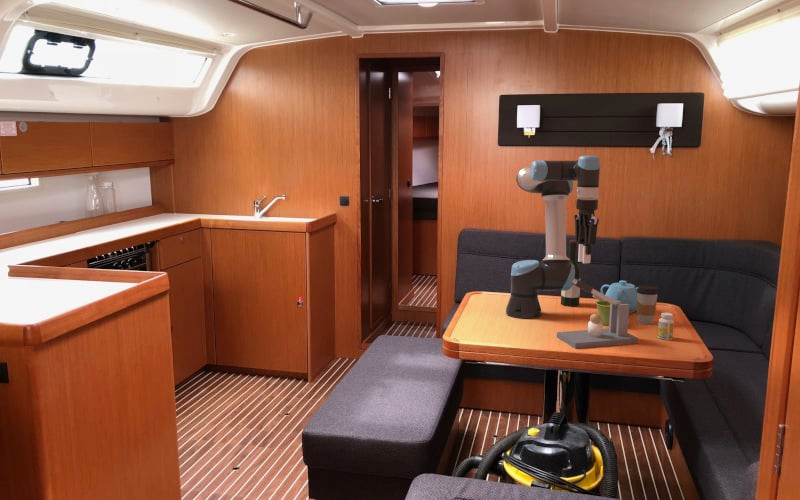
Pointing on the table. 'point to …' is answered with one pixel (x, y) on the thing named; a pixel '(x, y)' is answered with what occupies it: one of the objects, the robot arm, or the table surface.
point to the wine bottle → (573, 294)
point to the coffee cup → (646, 303)
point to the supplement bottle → (666, 326)
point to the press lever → (593, 292)
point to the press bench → (602, 330)
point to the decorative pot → (623, 294)
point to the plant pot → (604, 311)
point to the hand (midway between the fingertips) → (584, 262)
